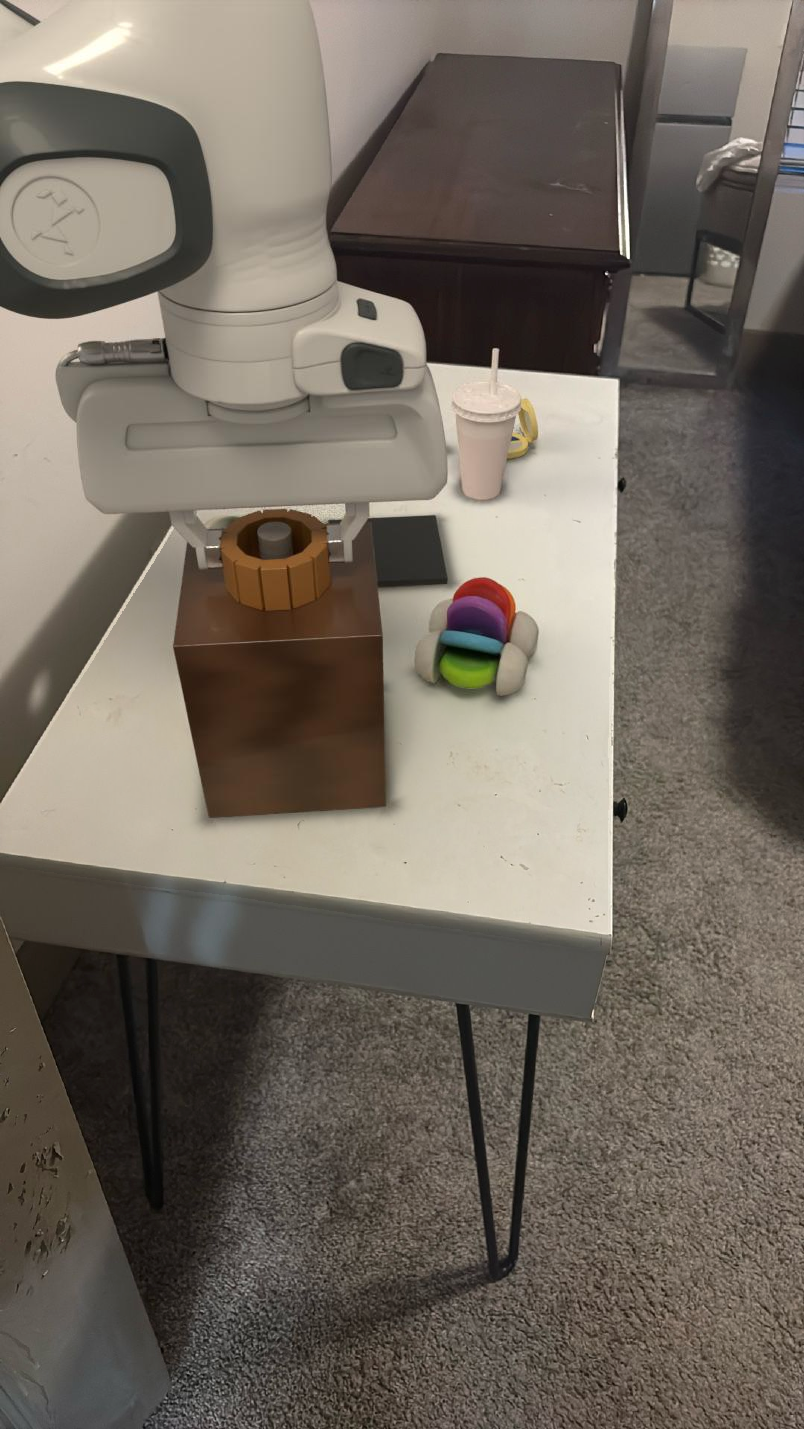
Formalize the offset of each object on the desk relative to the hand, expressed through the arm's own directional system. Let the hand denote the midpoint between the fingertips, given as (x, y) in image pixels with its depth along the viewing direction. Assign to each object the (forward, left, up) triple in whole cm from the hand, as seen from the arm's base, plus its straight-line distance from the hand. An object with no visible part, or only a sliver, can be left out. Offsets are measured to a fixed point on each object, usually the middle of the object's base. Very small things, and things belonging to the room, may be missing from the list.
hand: (277, 560), depth 61 cm
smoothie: (+18, +34, -16) cm, 42 cm away
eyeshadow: (+22, +42, -16) cm, 50 cm away
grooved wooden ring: (0, 0, -1) cm, 1 cm away
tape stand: (0, 0, -16) cm, 16 cm away
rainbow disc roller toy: (+14, +8, -17) cm, 23 cm away
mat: (+8, +24, -16) cm, 30 cm away
